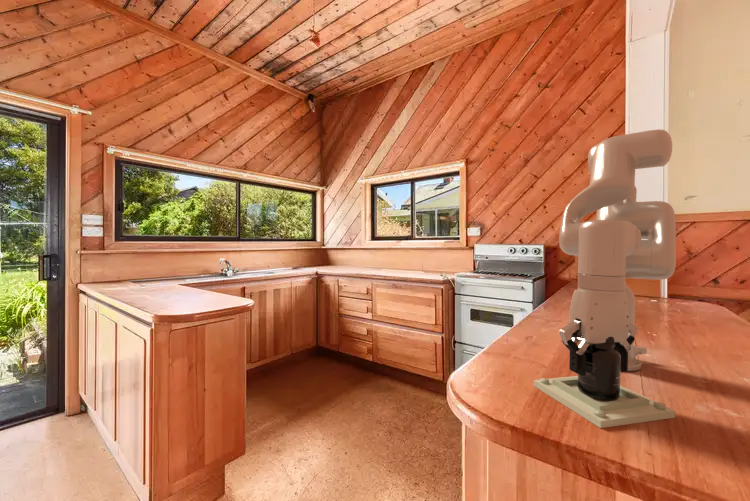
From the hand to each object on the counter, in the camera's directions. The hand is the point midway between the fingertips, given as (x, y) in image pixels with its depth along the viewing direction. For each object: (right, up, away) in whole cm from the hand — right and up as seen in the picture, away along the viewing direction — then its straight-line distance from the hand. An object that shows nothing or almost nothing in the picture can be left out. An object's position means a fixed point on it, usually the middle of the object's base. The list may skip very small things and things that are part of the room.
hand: (598, 370), depth 62 cm
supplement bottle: (0, -5, 0) cm, 5 cm away
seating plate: (0, -6, 0) cm, 6 cm away
